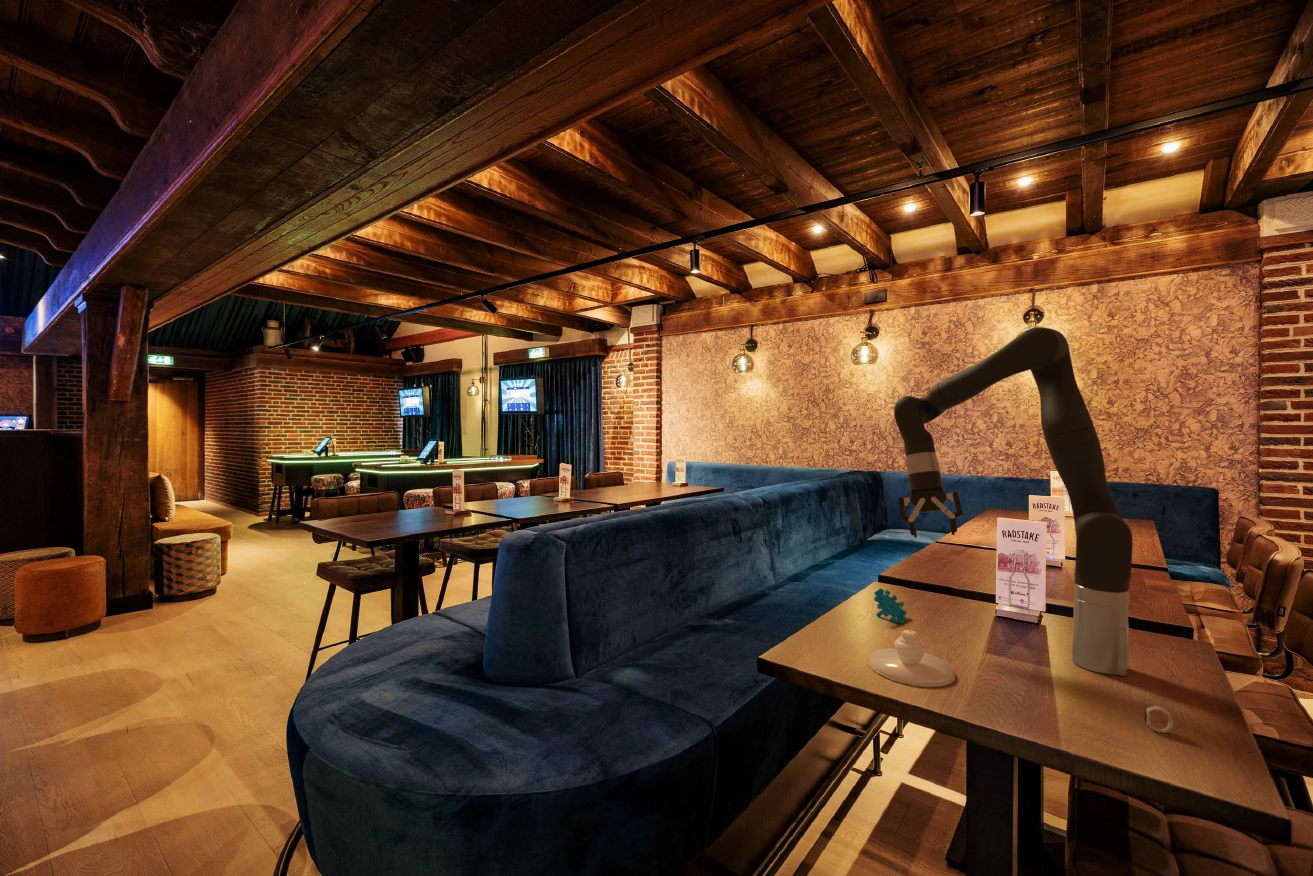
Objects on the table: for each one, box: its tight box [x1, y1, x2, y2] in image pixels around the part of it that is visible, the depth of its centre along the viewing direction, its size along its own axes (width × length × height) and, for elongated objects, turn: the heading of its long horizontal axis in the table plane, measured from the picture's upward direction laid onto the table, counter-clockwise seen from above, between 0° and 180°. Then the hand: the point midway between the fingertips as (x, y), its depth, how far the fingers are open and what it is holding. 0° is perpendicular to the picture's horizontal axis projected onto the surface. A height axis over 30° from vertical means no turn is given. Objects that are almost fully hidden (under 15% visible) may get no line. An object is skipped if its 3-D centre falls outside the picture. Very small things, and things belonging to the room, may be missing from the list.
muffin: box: [894, 629, 927, 666], centre depth 119 cm, size 6×6×7 cm
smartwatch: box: [1144, 705, 1175, 734], centre depth 96 cm, size 4×2×4 cm, turn 54°
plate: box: [867, 647, 956, 688], centre depth 119 cm, size 17×17×1 cm
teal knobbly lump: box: [873, 588, 907, 624], centre depth 151 cm, size 11×6×10 cm
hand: (934, 536), depth 141 cm, fingers open, 8 cm apart
